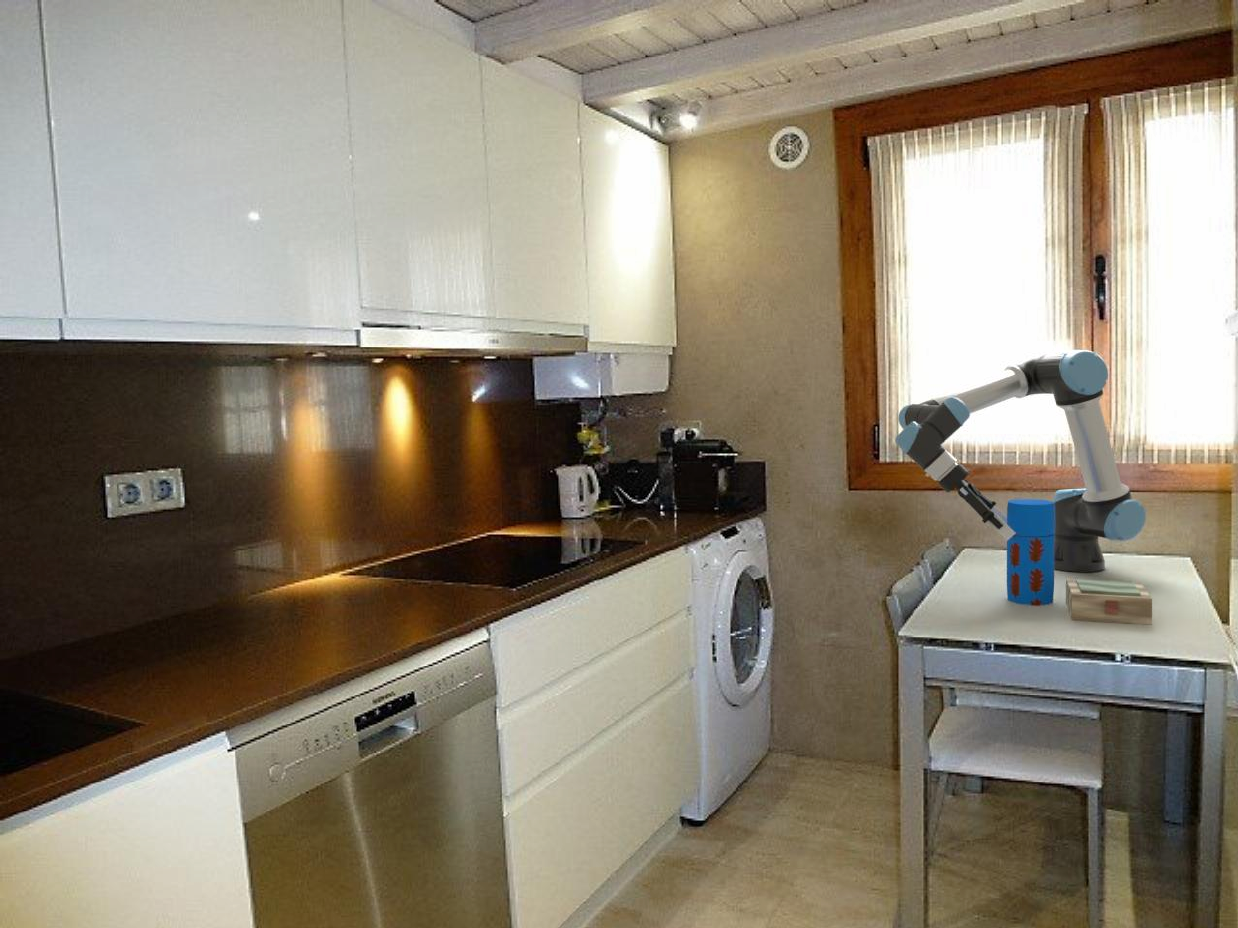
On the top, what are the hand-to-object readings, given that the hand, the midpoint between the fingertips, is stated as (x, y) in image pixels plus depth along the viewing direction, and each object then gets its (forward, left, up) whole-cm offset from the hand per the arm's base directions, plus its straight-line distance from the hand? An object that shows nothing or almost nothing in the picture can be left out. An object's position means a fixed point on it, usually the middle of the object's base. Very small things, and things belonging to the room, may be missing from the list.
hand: (1010, 532), depth 223 cm
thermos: (-1, +5, -17) cm, 18 cm away
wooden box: (+8, +21, -17) cm, 28 cm away
